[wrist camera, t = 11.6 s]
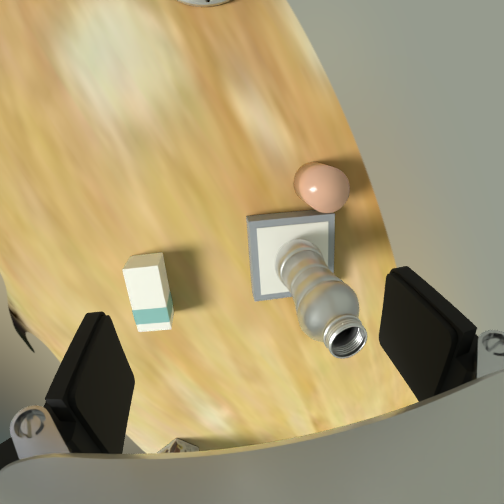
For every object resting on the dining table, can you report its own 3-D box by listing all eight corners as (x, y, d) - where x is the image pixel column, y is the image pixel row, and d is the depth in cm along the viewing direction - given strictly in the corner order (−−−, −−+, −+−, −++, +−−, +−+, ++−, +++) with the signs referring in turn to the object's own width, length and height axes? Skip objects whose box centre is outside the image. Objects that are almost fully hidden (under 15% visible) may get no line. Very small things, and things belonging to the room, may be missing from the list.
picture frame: (246, 216, 46) (248, 222, 43) (327, 208, 47) (335, 213, 44) (252, 291, 50) (254, 301, 47) (326, 282, 51) (333, 291, 48)
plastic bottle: (325, 249, 46) (395, 326, 27) (298, 286, 47) (348, 378, 29) (290, 225, 44) (348, 297, 25) (262, 265, 45) (298, 357, 27)
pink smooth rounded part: (292, 163, 44) (304, 167, 38) (332, 161, 44) (349, 165, 39) (294, 204, 46) (306, 214, 40) (333, 201, 47) (349, 211, 41)
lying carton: (130, 255, 46) (122, 269, 41) (163, 252, 46) (158, 265, 41) (143, 314, 49) (138, 332, 44) (174, 311, 50) (171, 329, 45)
